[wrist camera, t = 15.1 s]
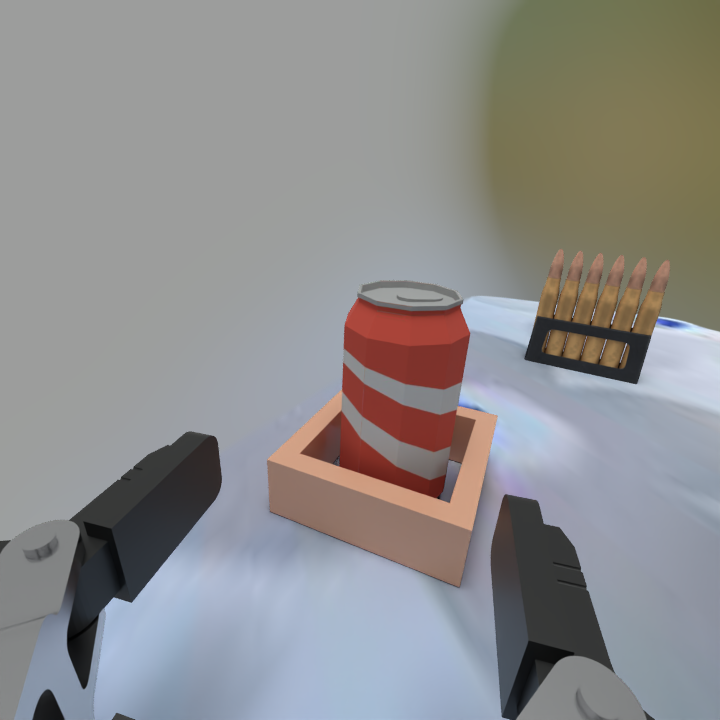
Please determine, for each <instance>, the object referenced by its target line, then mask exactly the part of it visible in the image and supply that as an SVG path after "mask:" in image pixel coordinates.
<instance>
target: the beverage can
mask: <svg viewBox="0 0 720 720" xmlns="http://www.w3.org/2000/svg"><path fill="white" fill-rule="evenodd" d="M461 304H463V298H462V297H461V295H460V294H459V292H458V291H455V290H452V289H449V288H446V287H442V286H440V285H436V284H429V283H422V282H414V281H407V280H404V281H375V282H371V283H366V284H362V285H360V286H359V290H358V299H357V300H356V302H355V304H354V305H353V307H352V308H351V310H350V312H349V313H348V316H347V319H346V322H345V330H344V332H345V333H344V356H343V357H344V358H343V384H342V411H341V439H340V466H339V467H342V468H345V469H348V470H351V471H354V472H357V473H360V474H363V475H366V476H369V477H372V478H375V479H378V480H381V481H385V482H388V483H391V484H394V485H397V486H400V487H403V488H406V489H409V490H412V491H415V492H418V493H421V494H424V495H427V496H430V497H433V498H437V497H438V496H439V495H440V494H441V493H442V492H443V489H444V483H445V477H446V471H447V465H448V460H449V454H450V448H451V442H452V436H453V431H454V425H455V419H456V413H457V407H458V402H459V396H460V390H461V384H462V378H463V373H464V367H465V361H466V355H467V349H468V344H469V338H470V332H469V329H468V327H467V324H466V322H465V319H464V317H463V314H462V312H461V309H460V307H461Z"/></svg>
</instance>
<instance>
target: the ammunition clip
mask: <svg viewBox="0 0 720 720" xmlns="http://www.w3.org/2000/svg"><path fill="white" fill-rule="evenodd" d="M563 263H564V254H563V250H562V249H560V250H559V251H558V253H557V254H556V256H555V258H554V260H553V262H552V265H551V268H550V271H549V275H548V278H547V281H546V284H545V287H544V288H543V291H542V295H541V298H540V303H539V307H538V311H537V315H536V319H535V323H534V327H533V331H532V335H531V338H530V341H529V345H528V348H527V351H526V355H525V359H526V360H528V361H532V362H537V363H541V364H546V365H551V366H555V367H560V368H564V369H569V370H574V371H578V372H583V373H587V374H592V375H596V376H601V377H606V378H610V379H615V380H619V381H624V382H629V383H633V384H637V382H638V379H639V376H640V372H641V369H642V366H643V363H644V359H645V356H646V353H647V349H648V346H649V343H650V339H651V335H652V332H653V330H654V327H655V324H656V321H657V319H658V316H659V313H660V310H661V306H662V299H663V296H664V293H665V292H664V291H665V289H666V286H667V282H668V278H669V271H670V263H669V260H666V261H665V262H664V263H663V264H662V265H661V267H660V268H659V270H658V271H657V273H656V275H655V277H654V279H653V281H652V283H651V286H650V289H649V291H648V293H647V295H646V298H645V299H644V301H643V303H642V304H641V307H640V309H639V312H638V315H637V318H636V321H635V323H634V326H633V328H631V327H632V324H633V321H634V318H635V315H636V312H637V309H638V306H639V299H640V294H641V291H642V286H643V283H644V279H645V275H646V266H647V263H646V258H645V257H643V258H642V259H641V260H640V262H639V263H638V264H637V266H636V268H635V269H634V271H633V273H632V275H631V277H630V280H629V283H628V285H627V287H626V290H625V293H624V295H623V297H622V299H621V300H620V302H619V305H618V308H617V311H616V314H615V317H614V320H613V323H612V325H611V321H612V318H613V315H614V311H615V308H616V305H617V301H618V293H619V289H620V284H621V281H622V277H623V271H624V257H623V255H621V256H620V257H619V258H618V259H617V260H616V262H615V263H614V265H613V267H612V269H611V271H610V273H609V276H608V279H607V282H606V284H605V287H604V290H603V292H602V294H601V296H600V298H599V300H598V303H597V306H596V309H595V305H596V302H597V296H598V288H599V284H600V279H601V276H602V270H603V254H602V253H599V255H598V256H597V257H596V258H595V260H594V262H593V264H592V266H591V268H590V270H589V273H588V276H587V279H586V282H585V284H584V287H583V290H582V292H581V294H580V296H579V299H578V302H577V306H576V309H575V305H576V301H577V297H578V288H579V283H580V278H581V274H582V268H583V253H582V251H579V252H578V254H577V255H576V256H575V258H574V260H573V262H572V264H571V267H570V269H569V272H568V276H567V279H566V281H565V285H564V287H563V290H562V291H561V294H560V297H559V301H558V305H557V308H556V304H557V300H558V296H559V286H560V280H561V275H562V270H563ZM555 308H556V312H555ZM574 309H575V313H574V316H573V312H574ZM594 309H595V313H594V316H593V319H592V315H593V312H594ZM554 312H555V315H554ZM572 316H573V318H572ZM591 319H592V321H591ZM550 330H551V331H550ZM549 332H550V335H549ZM568 332H569V334H568ZM567 335H568V337H567ZM548 336H549V339H548ZM586 336H587V339H586ZM566 338H567V341H566ZM585 339H586V342H585ZM606 339H607V341H606V344H605V347H604V350H603V346H604V343H605V340H606ZM547 340H548V342H547ZM565 342H566V344H565ZM584 343H585V345H584ZM626 343H627V346H626V349H625V352H624V354H623V351H624V348H625V345H626ZM546 344H547V346H546ZM564 346H565V348H564ZM583 346H584V349H583ZM563 349H564V351H563ZM582 350H583V352H582ZM602 350H603V353H602ZM581 353H582V355H581ZM601 353H602V356H601ZM622 354H623V357H622ZM600 356H601V359H600ZM621 357H622V360H621ZM620 360H621V363H620Z"/></svg>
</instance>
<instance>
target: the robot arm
mask: <svg viewBox="0 0 720 720" xmlns="http://www.w3.org/2000/svg"><path fill="white" fill-rule="evenodd" d="M221 483H222V475H221V467H220V458H219V449H218V442H217V439H216V437H214V436H211V435H206V434H201V433H195V432H186V433H185V434H184V435H183V436H181V437H180V438H179V439H178V440H177V441H176V442H174V443H173V444H172V445H171V446H169V445H167V446H165V447H163V448H161V449H159V450H157V451H155V452H153V453H150V454H148V455H147V456H146V457H145V458H144V459H143V460H141V461H140V462H139V463H138V464H136V465H135V466H134V468H133V470H132V469H130V470H129V471H128V472H127V473H126V474H124V475H123V476H122V477H121V479H120V480H117V481H116V482H115V483H113V484H112V485H111V486H110V487H109V488H107V489H106V490H105V491H104V492H103V493H101V494H100V495H99V496H98V497H97V498H95V499H94V500H93V501H92V502H91V503H89V504H88V505H87V506H86V507H85V508H83V509H82V510H81V511H80V512H78V513H77V514H76V515H75V516H74V517H72V518H71V519H70V520H69V521H68V520H54V521H49V522H45V523H42V524H39V525H36V526H34V527H32V528H29V529H28V530H26V531H24V532H23V533H21V534H19V535H18V536H16V537H15V538H14V539H12V540H9V541H0V720H95V718H94V692H95V686H96V679H97V672H98V665H99V659H100V652H101V645H102V638H103V631H104V625H105V618H106V612H105V606H106V605H107V604H108V603H109V602H110V601H111V599H112V598H113V597H115V598H118V599H121V600H125V601H128V602H131V603H132V602H133V600H134V599H135V598H136V597H137V595H138V594H139V593H140V592H141V591H142V589H143V588H144V587H145V586H146V584H147V583H148V582H149V581H150V579H151V578H152V577H153V576H154V575H155V573H156V572H157V571H158V570H159V568H160V567H161V566H162V565H163V563H164V562H165V561H166V560H167V558H168V557H169V556H170V555H171V554H172V552H173V551H174V550H175V549H176V547H177V546H178V545H179V544H180V542H181V541H182V540H183V539H184V538H185V536H186V535H187V534H188V533H189V531H190V530H191V529H192V528H193V526H194V525H195V524H196V523H197V522H198V520H199V519H200V518H201V517H202V515H203V514H204V513H205V512H206V510H207V509H208V508H209V507H210V505H211V504H212V503H213V502H214V500H215V499H216V497H217V496H218V493H219V491H220V488H221ZM491 575H492V589H493V603H494V616H495V630H496V644H497V658H498V671H499V685H500V699H501V713H502V717H503V718H506V719H510V720H655V719H653V718H652V717H651V716H650V715H648V714H647V713H646V712H645V711H644V710H643V709H642V707H641V705H640V703H639V701H638V700H637V698H636V696H635V695H634V694H633V692H632V691H631V690H630V688H629V687H628V686H627V685H626V684H625V683H624V682H623V681H622V680H621V679H620V678H619V677H618V676H617V675H616V674H615V672H614V670H613V667H612V665H611V662H610V659H609V656H608V653H607V650H606V646H605V643H604V640H603V637H602V634H601V630H600V627H599V624H598V621H597V618H596V614H595V611H594V608H593V605H592V602H591V598H590V595H589V592H588V591H587V590H586V587H587V586H586V582H585V579H584V576H583V573H582V572H581V566H580V563H579V560H578V557H577V554H576V550H575V547H574V546H573V545H572V543H571V542H570V541H569V539H568V538H567V537H566V535H565V534H564V533H563V531H562V530H561V529H560V527H555V526H550V525H546V524H544V523H543V519H542V515H541V511H540V506H539V503H538V501H536V500H532V499H527V498H522V497H517V496H512V495H507V494H505V495H504V497H503V500H502V504H501V508H500V512H499V516H498V520H497V524H496V528H495V532H494V536H493V541H492V547H491ZM112 720H135V719H132V718H129V717H126V716H124V715H121V714H118V713H116V714H115V716H114V717H113V719H112Z"/></svg>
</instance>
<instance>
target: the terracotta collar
mask: <svg viewBox="0 0 720 720" xmlns="http://www.w3.org/2000/svg"><path fill="white" fill-rule="evenodd" d="M341 411H342V390H341V391H340V392H339V393H338V394H336V395H335V396H334V397H333V398H332V399H331V400H330V401H329V402H328V403H327V404H326V405H325V406H324V407H323V408H322V409H321V410H319V411H318V412H317V413H316V414H315V415H314V416H313V417H312V418H311V419H310V420H309V421H308V422H307V423H306V424H305V425H304V426H302V427H301V428H300V429H299V430H298V431H297V432H296V433H295V434H294V435H293V436H292V437H291V438H290V439H289V440H288V441H286V442H285V443H284V444H283V445H282V446H281V447H280V448H279V449H278V450H277V451H276V452H275V453H274V454H273V455H272V456H271V457H269V458H268V459H267V466H268V484H269V502H270V512H273V513H275V514H278V515H280V516H283V517H285V518H288V519H290V520H293V521H295V522H298V523H300V524H303V525H305V526H308V527H310V528H313V529H315V530H318V531H320V532H323V533H325V534H328V535H330V536H333V537H335V538H338V539H340V540H343V541H345V542H347V543H350V544H352V545H355V546H357V547H360V548H362V549H365V550H367V551H370V552H372V553H375V554H377V555H380V556H382V557H385V558H387V559H390V560H392V561H395V562H397V563H400V564H402V565H405V566H407V567H410V568H412V569H415V570H417V571H420V572H422V573H425V574H427V575H430V576H432V577H435V578H437V579H440V580H442V581H445V582H447V583H449V584H452V585H454V586H457V587H459V588H460V583H461V579H462V574H463V570H464V565H465V561H466V556H467V552H468V547H469V543H470V538H471V534H472V529H473V525H474V520H475V516H476V511H477V507H478V502H479V498H480V493H481V489H482V484H483V480H484V475H485V471H486V466H487V462H488V457H489V453H490V448H491V444H492V439H493V435H494V430H495V425H496V421H497V415H493V414H489V413H485V412H481V411H476V410H472V409H468V408H464V407H460V406H458V407H457V413H456V419H455V425H454V431H453V436H452V442H451V448H450V454H449V459H450V460H453V461H457V462H460V463H462V466H461V469H460V472H459V475H458V478H457V481H456V485H455V488H454V491H453V494H452V497H451V500H450V503H448V502H445V501H442V500H439V499H436V498H433V497H430V496H427V495H424V494H421V493H418V492H415V491H412V490H409V489H406V488H403V487H400V486H397V485H394V484H391V483H388V482H385V481H381V480H378V479H375V478H372V477H369V476H366V475H363V474H360V473H357V472H354V471H351V470H348V469H345V468H342V467H339V466H336V465H333V463H334V462H335V460H336V459H337V458H338V457H339V455H340V439H341Z"/></svg>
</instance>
